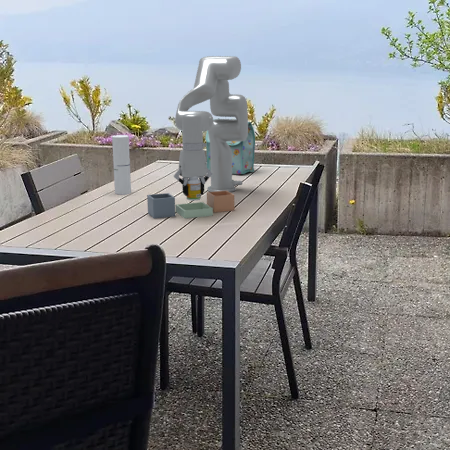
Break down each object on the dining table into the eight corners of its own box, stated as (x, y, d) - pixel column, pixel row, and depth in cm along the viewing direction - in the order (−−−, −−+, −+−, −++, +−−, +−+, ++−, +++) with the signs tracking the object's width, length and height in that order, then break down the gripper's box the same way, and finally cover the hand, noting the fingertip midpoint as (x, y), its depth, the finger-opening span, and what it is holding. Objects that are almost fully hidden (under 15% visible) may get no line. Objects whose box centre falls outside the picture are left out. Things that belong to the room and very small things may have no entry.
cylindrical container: (128, 194, 295) (125, 137, 288) (112, 194, 296) (109, 137, 290) (133, 191, 302) (131, 135, 295) (118, 190, 303) (115, 135, 297)
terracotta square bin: (226, 207, 271) (226, 190, 269) (234, 212, 263) (234, 194, 261) (206, 209, 268) (206, 192, 266) (214, 214, 260) (214, 196, 258)
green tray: (203, 210, 266) (202, 202, 265) (212, 217, 255) (212, 208, 254) (175, 213, 262) (175, 204, 261) (184, 220, 252) (184, 210, 251)
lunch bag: (202, 172, 345) (202, 119, 338) (219, 167, 358) (219, 116, 351) (241, 176, 333) (241, 121, 326) (257, 171, 347) (258, 118, 340)
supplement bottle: (186, 197, 259) (185, 172, 257) (200, 197, 260) (200, 172, 257) (186, 201, 254) (186, 175, 251) (201, 200, 254) (200, 175, 252)
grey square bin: (169, 213, 262) (168, 193, 260) (175, 218, 255) (174, 197, 253) (147, 215, 259) (147, 194, 257) (153, 220, 252) (153, 199, 250)
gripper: (210, 144, 258) (211, 190, 263) (167, 147, 252) (169, 194, 257) (217, 147, 251) (218, 194, 256) (173, 149, 245) (174, 198, 250)
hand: (193, 194), depth 256 cm, fingers closed on supplement bottle, 5 cm apart
